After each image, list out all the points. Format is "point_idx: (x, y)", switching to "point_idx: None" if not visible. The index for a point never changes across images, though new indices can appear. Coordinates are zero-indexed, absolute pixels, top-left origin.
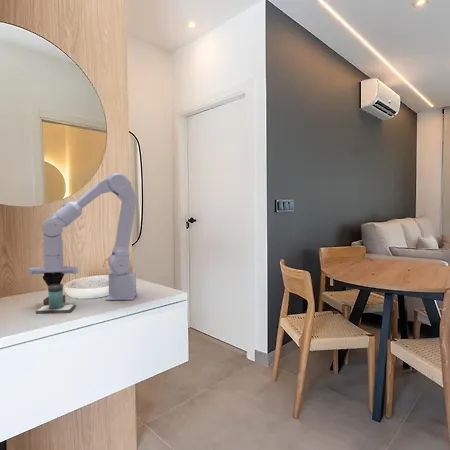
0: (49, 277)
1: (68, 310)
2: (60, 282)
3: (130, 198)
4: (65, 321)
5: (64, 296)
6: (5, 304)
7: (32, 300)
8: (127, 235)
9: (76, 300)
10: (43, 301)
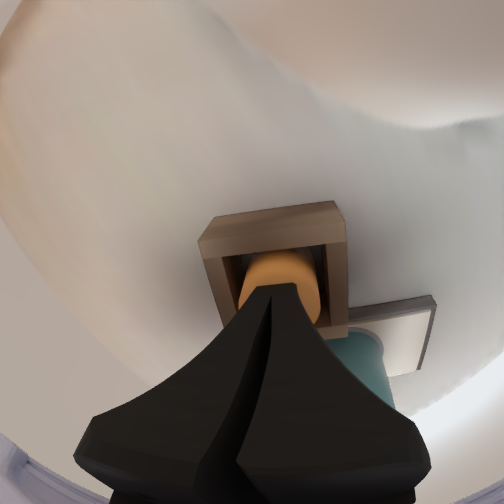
0: None
1: (412, 370)
2: (334, 358)
3: None
4: (409, 413)
5: (345, 238)
6: (32, 261)
7: (76, 184)
8: None
9: (398, 148)
10: None
